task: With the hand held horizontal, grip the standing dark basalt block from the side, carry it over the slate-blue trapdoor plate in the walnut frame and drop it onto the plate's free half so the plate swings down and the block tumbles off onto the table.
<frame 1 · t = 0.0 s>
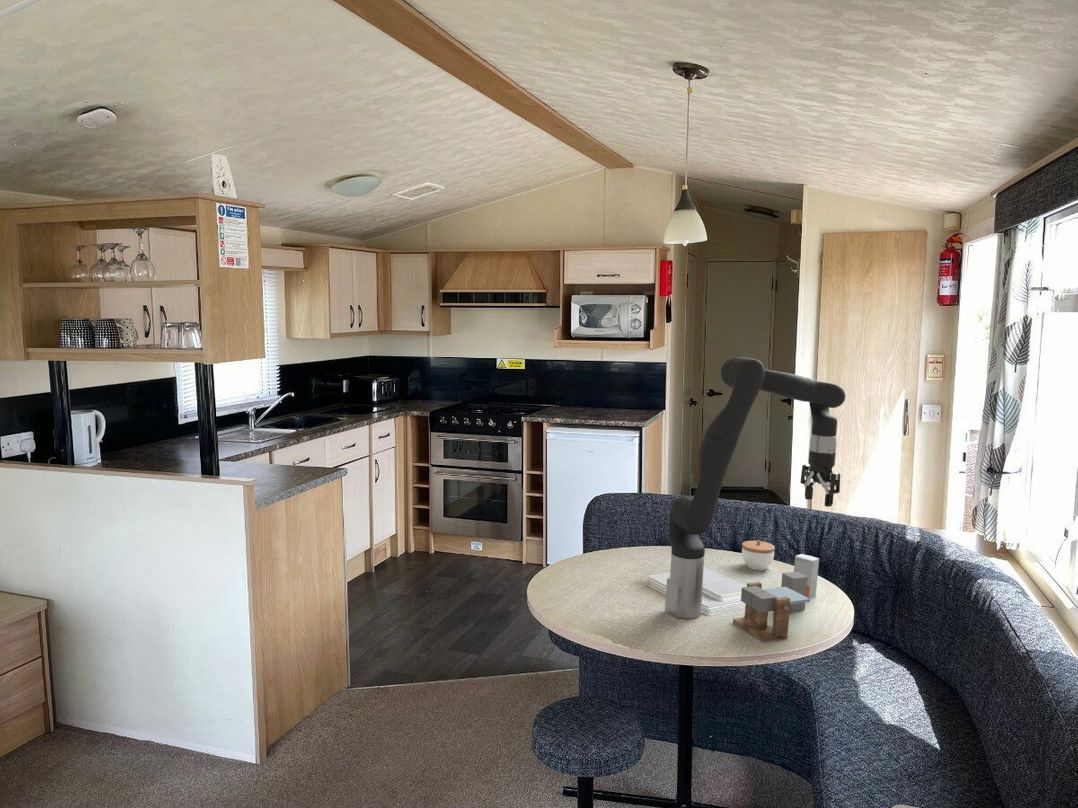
hand: (818, 502, 245), 29 cm above the table, tool pointing down, fingers open, 8 cm apart
basalt block: (792, 608, 239), on the table
trapdoor: (774, 596, 222), point 9 cm above the table, hinge at 0.0°
trapdoor frame: (765, 629, 222), on the table
lidded jar: (756, 568, 275), on the table
skincare box: (803, 595, 251), on the table
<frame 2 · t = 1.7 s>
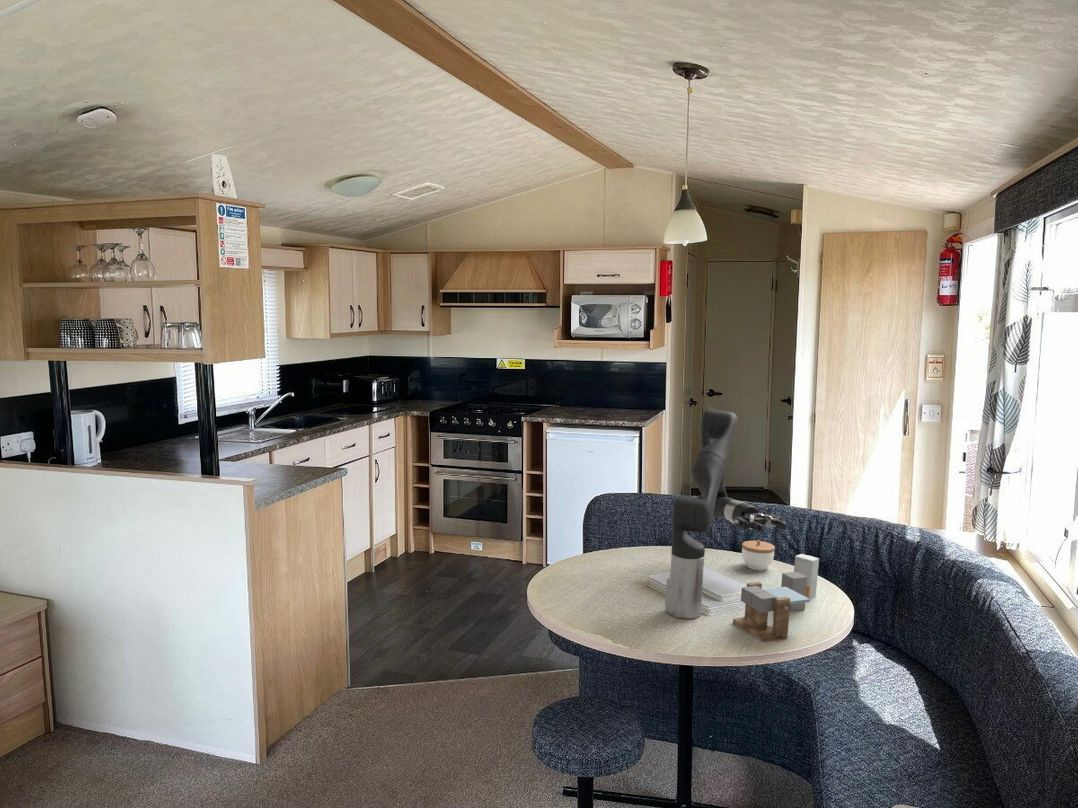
hand: (773, 527, 246), 21 cm above the table, tool horizontal, fingers open, 8 cm apart
nothing on the table moved.
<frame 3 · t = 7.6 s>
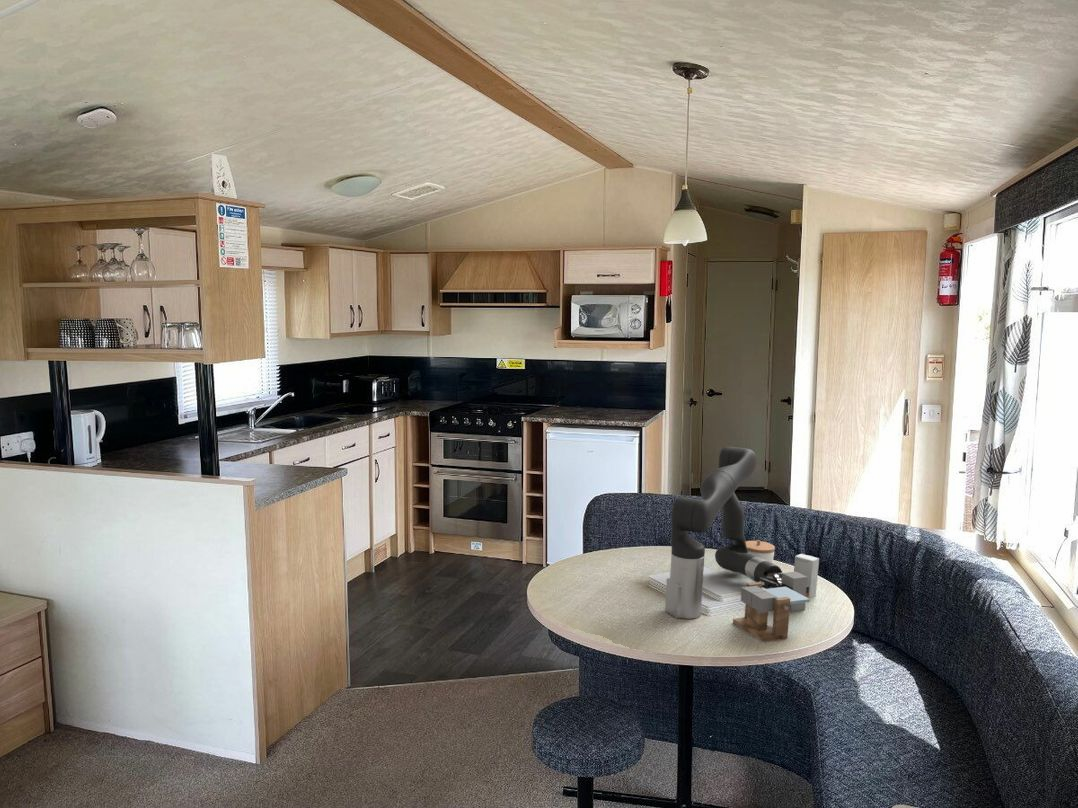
hand: (799, 591, 236), 6 cm above the table, tool horizontal, fingers closed on basalt block, 5 cm apart
basalt block: (792, 607, 239), on the table, touching gripper
everything else where it was.
when the fingers open (23 cm above the table, at t = 12.2 s): basalt block drops 15 cm and tips over, point 2 cm above the table.
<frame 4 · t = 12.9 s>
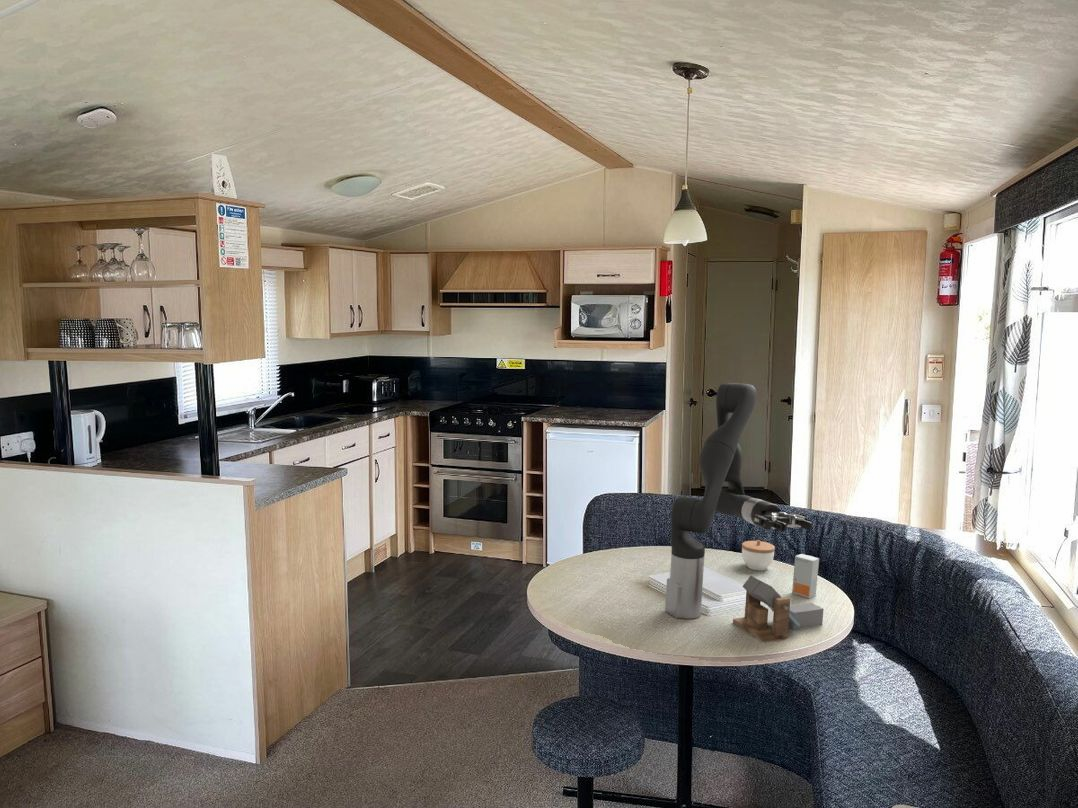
hand: (798, 527, 219), 29 cm above the table, tool horizontal, fingers open, 8 cm apart
basalt block: (787, 618, 225), point 2 cm above the table, tilted 90°
trapdoor: (772, 602, 222), point 7 cm above the table, hinge at -43.3°
everything else where it was.
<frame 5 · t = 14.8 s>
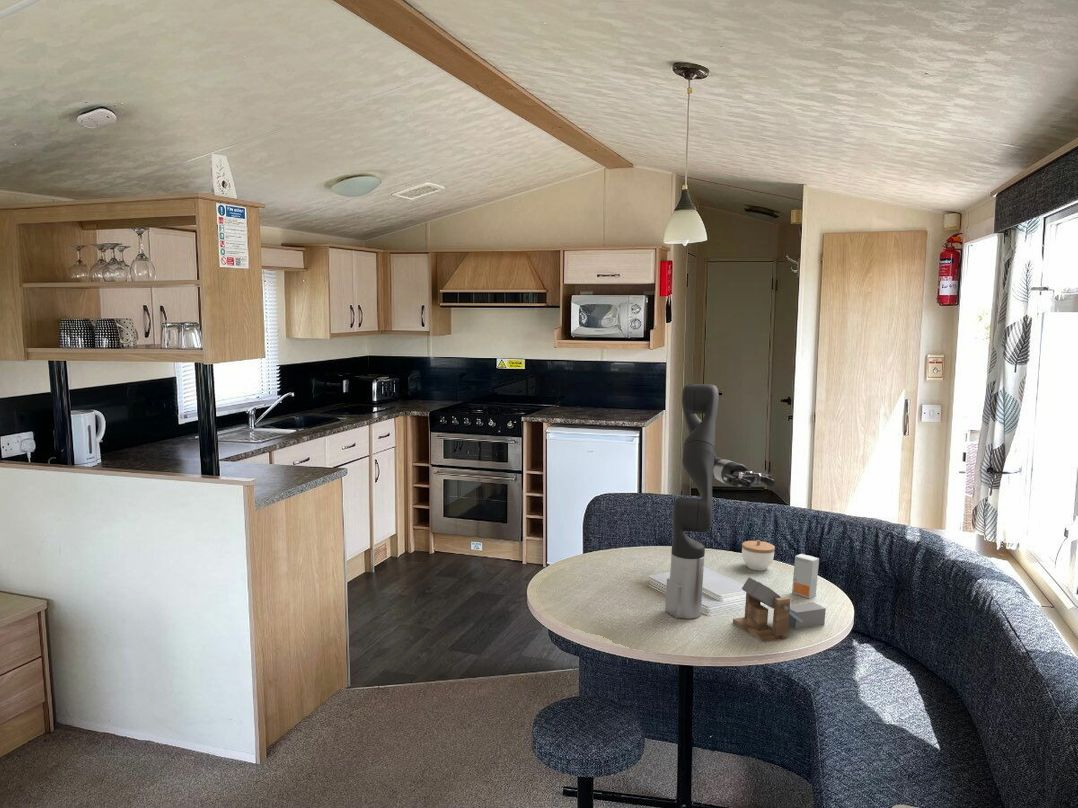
hand: (762, 484, 246), 34 cm above the table, tool horizontal, fingers open, 8 cm apart
basalt block: (789, 617, 225), point 2 cm above the table, tilted 90°, touching trapdoor
trapdoor: (773, 602, 222), point 8 cm above the table, hinge at -35.9°, touching basalt block
everything else where it was.
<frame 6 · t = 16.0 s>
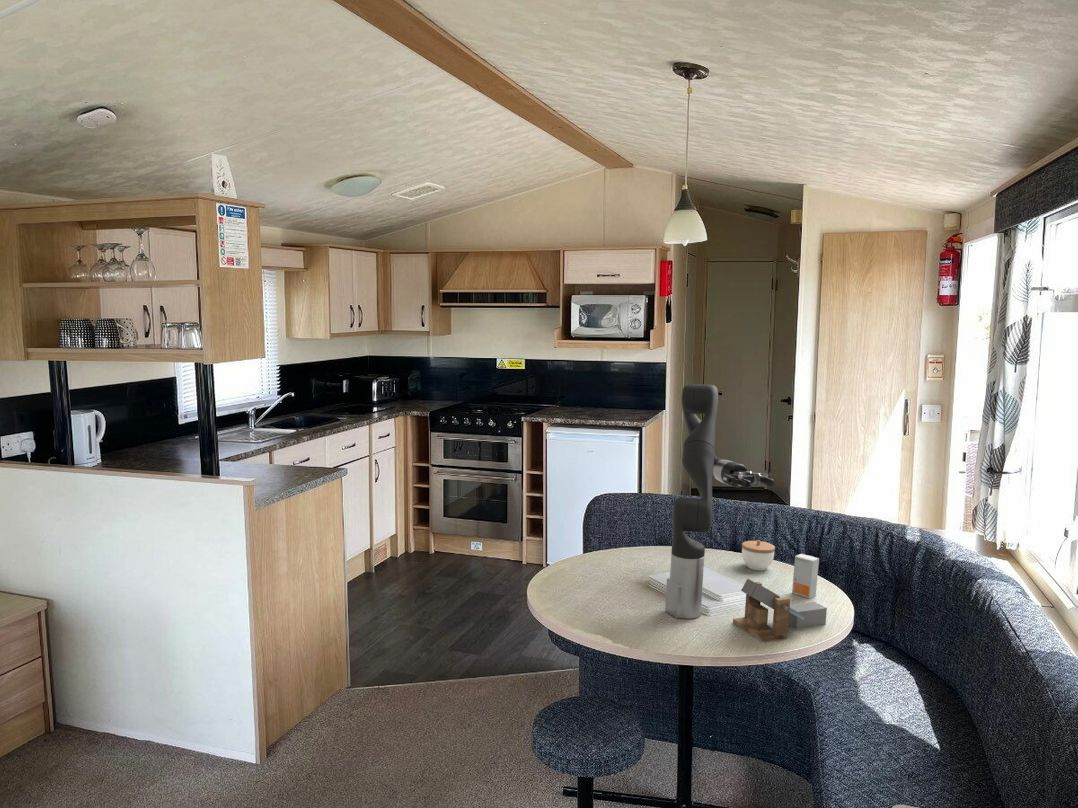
hand: (761, 484, 247), 34 cm above the table, tool horizontal, fingers open, 8 cm apart
basalt block: (791, 617, 226), point 2 cm above the table, tilted 90°
trapdoor: (773, 601, 222), point 8 cm above the table, hinge at -30.4°
everything else where it was.
at the end: basalt block point 2.3 cm above the table; the gripper is holding nothing; basalt block moved 14.2 cm from its start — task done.
